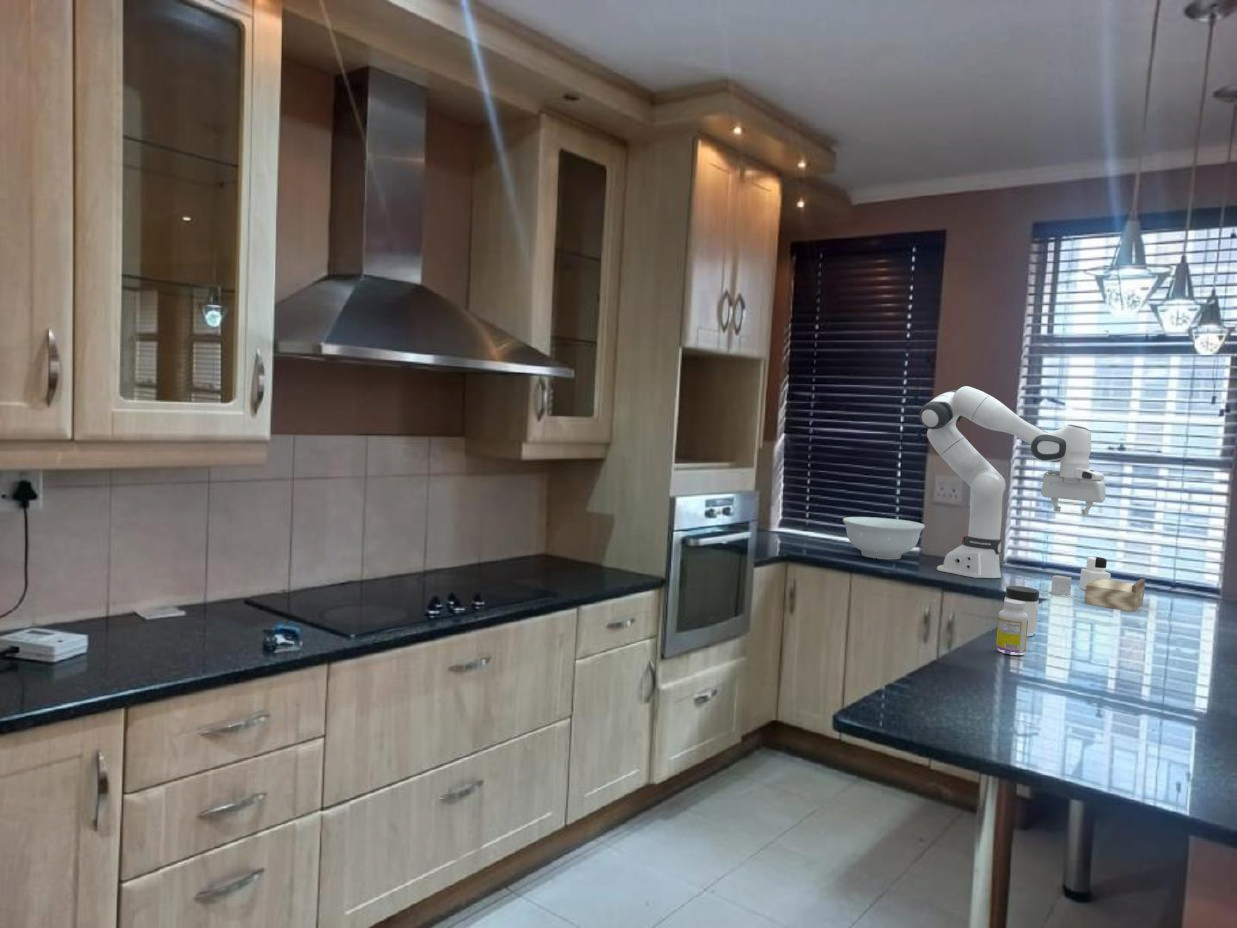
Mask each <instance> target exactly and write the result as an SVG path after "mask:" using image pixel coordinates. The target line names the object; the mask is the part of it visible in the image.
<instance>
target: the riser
mask: <svg viewBox="0 0 1237 928" xmlns="http://www.w3.org/2000/svg"><path fill="white" fill-rule="evenodd" d="M1145 586H1146V578H1140V579H1139V580H1137V582H1135V583H1132V582H1126V581H1119V580H1113V579H1110V580H1108V579H1101V578H1096V579H1095V580H1093V581H1092V582H1090V583H1089V584H1087V585H1086V591H1085V590H1084V592H1085V593H1084V602H1083V603H1084V604H1085V603H1088V604H1087V605H1093V606H1097V607H1104V608H1110V609H1116V610H1121V611H1127V612H1133V613H1134V612H1135V611H1136V610H1138V608H1139V607H1140V606H1142V604H1144V595H1145Z"/></svg>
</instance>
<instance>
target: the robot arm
mask: <svg viewBox="0 0 1237 928" xmlns="http://www.w3.org/2000/svg"><path fill="white" fill-rule="evenodd" d="M963 417H964V418H966V419H967V420H969V421H971V422H973V423H974V424H975V425H978V426H980V427H982V428H985V429H988V430H990V431H995V432H1002V433H1006V434H1008V435H1009V434H1010V435H1013V436H1015V437H1016V438H1018V439H1020V440H1022V441H1023V442H1026V443H1027V444H1029V445H1030V451H1031V454H1032V455H1033V456H1034V457H1035V458H1036V459H1038V460H1039V461H1043V462H1050V463H1051V462H1052V463H1060V464H1059V471H1057V470H1055V471H1053V470H1048V471H1045V473H1043V477H1042V478H1043V479H1042V486H1041V491H1040V495H1041V496H1042V497H1043V498H1051V499H1050V500H1051V503H1052V506H1053V511H1054V512H1058V513H1060V512H1061V506H1060V505H1059V504H1058V501H1059V500H1061V499H1062V500H1072V501H1080V502H1085V505H1086V506H1085V508H1083V509H1081V515H1082V516H1088V515H1089V512H1090V510H1091V508H1092V506H1094V503H1099V504H1101V503H1103V502H1104V501H1105V500H1106V484H1105V482H1104V481H1103V480H1104V479H1105V474H1104V473H1102V472H1099V471H1097V470H1094V469H1091V468H1090V465H1091V464H1090V461H1089V460H1090V459H1089V458H1090V455H1091V452H1092V435H1091V431H1090V430H1089V429H1088V428H1086V427H1085V426H1080V425H1075V424H1066V425H1064V426H1063V427H1060V428H1058V429H1056V430H1053V431H1051V432H1047V431H1044V430H1043V429H1042V428H1039V427H1037V426H1035V425H1033V424H1031V422H1028V421H1026V420H1025V419H1022V418H1021V417H1020V416H1018V415H1017V414H1016V413H1015V412H1014V411H1012V410H1011V409H1010V408H1009V407H1007V406H1006V405H1005V404H1004V403H1002V402H1001V401H1000V400H998V399H996V398H995V397H994V396H992V395H990V394H988V393H986V392H984V391H982V390H980V389H978V388H977V389H976V388H975V387H971V386H967V385H966V386H965V385H964V386H962V387H960V388H958V389H957V390H956V389H951V390H948V391H945V392H943V393H941V394H939V395H937V396H935V397H934V398H932V400H930V401H929V402H927V403H925V404H924V405H923V406H922V408H921V409H920V411H919V420H920V423H921V424H922V425H923V426H924V427H925V428H927V432H926V437H927V439H928V442H929V443H930V444H931V446H932V447H933V449H934V450H935V451H936V452H937V454H938V455H939V456H940V457H941V459H943V460H944V462H945V463H947V466H949V467H950V468H951V469H952V470H953V472H954V473H956V474H957V475H958V476H959V477H960V478H961V479H962V480H963V481H964V482H965V483H966V484H967V486H969V487H970V491H969V492H970V495H969V521H968V533H967V535H965V536H963V537H962V538H961V545H959V546H958V547H956V548H953V549H952V550H951V551H949V552H948V553H946V555H945V557H944V561H943V564H941V565H938V566H937V567H936V570H937V571H939V572H945V573H949V574H954V575H958V576H965V577H970V578H974V579H975V578H978V579H979V578H981V579H983V578H985V579H1000V578H1002V574H1001V569H1000V565H1001V564H1000V554H1001V551H1002V550H1001V549H1002V539H1001V531H1002V530H1001V529H1002V519H1003V518H1002V517H1003V516H1002V515H1003V498H1004V497H1003V496H1004V492H1005V490H1006V479H1005V478H1004V477H1003V475H1001V474H1000V473H999V471H997V469H996V468H995V467H994V466H993V465H992V464H991V463H990V462H989V461H988V460H987V459H986V458H985V457H984V456H983V455H982V454H981V453H980V452H979V451H978V450H977V449H976V448H975V447H974V446H973V445H972V444H971V443H970V442H969V441H968V439H967V438H966V437H965V435H963V434H962V433H961V431H960V430H958V427H957V426H956V424H957V423H958V422H960V421H961V420H962V418H963Z"/></svg>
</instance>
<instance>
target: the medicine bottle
mask: <svg viewBox="0 0 1237 928" xmlns="http://www.w3.org/2000/svg"><path fill="white" fill-rule="evenodd" d="M1086 558H1087V559H1086V568H1081V569H1080V576H1079V577H1080V578H1079V589H1081V590H1083V591H1084V592H1085V591H1086V585H1087V584H1089V583H1090V582H1092V581H1093V580H1095V579H1096V578H1101V579H1108V580H1111V575H1112V574H1111V573H1110V572H1107V571H1106V570H1107V563H1108V560H1107V559H1106V558H1105V557H1101V556H1088V557H1086Z"/></svg>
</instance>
